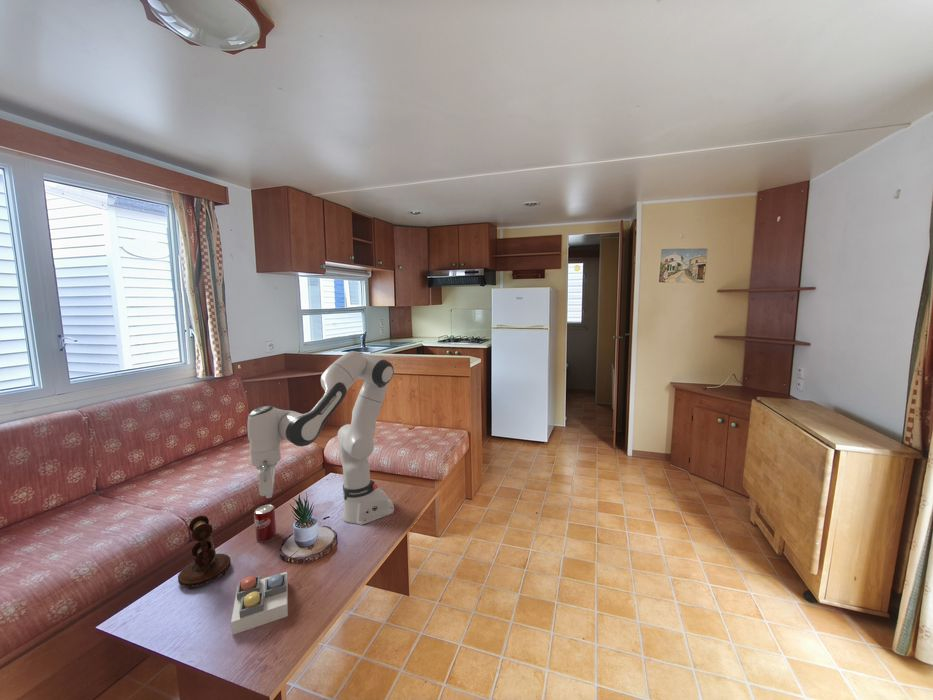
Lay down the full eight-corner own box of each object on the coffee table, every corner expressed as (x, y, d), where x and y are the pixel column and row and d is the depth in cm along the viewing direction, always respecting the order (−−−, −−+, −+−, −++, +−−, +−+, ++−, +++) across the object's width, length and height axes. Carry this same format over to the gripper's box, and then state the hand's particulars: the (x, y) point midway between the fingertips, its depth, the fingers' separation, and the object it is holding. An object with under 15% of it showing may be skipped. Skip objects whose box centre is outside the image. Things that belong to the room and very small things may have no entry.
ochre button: (260, 598, 110) (259, 589, 110) (259, 608, 107) (259, 599, 106) (245, 603, 109) (244, 594, 108) (243, 613, 105) (242, 604, 105)
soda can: (268, 544, 143) (265, 514, 142) (251, 541, 145) (249, 513, 143) (280, 532, 150) (278, 505, 149) (265, 530, 152) (263, 503, 150)
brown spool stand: (235, 574, 127) (229, 520, 124) (181, 598, 117) (174, 539, 114) (226, 554, 137) (221, 503, 135) (176, 574, 127) (169, 520, 125)
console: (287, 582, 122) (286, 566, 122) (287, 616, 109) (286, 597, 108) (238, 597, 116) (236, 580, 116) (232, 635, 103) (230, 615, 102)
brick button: (256, 582, 117) (256, 574, 116) (256, 591, 113) (255, 582, 113) (242, 587, 115) (241, 578, 115) (240, 596, 111) (240, 587, 111)
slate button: (283, 581, 117) (282, 572, 117) (283, 589, 114) (282, 580, 113) (269, 585, 116) (268, 576, 115) (268, 594, 112) (267, 585, 112)
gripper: (275, 466, 113) (279, 508, 115) (277, 444, 131) (280, 481, 133) (251, 470, 110) (256, 513, 112) (256, 447, 129) (260, 485, 130)
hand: (269, 495), depth 123 cm, fingers closed
